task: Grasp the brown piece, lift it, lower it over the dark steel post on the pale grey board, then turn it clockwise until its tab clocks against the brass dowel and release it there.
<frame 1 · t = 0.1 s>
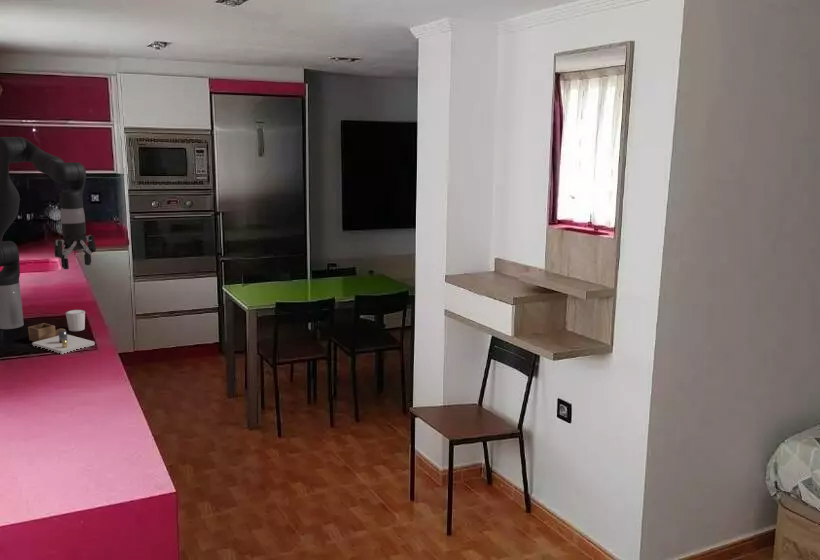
hand: (76, 266, 255), 29 cm above the worktop, fingers open, 8 cm apart
post: (63, 336, 261), on the board, point 3 cm above the worktop
brown piece: (59, 335, 274), on the worktop
board: (63, 345, 262), on the worktop
dowel: (64, 343, 256), on the board, point 2 cm above the worktop
shot glass: (76, 329, 282), on the worktop
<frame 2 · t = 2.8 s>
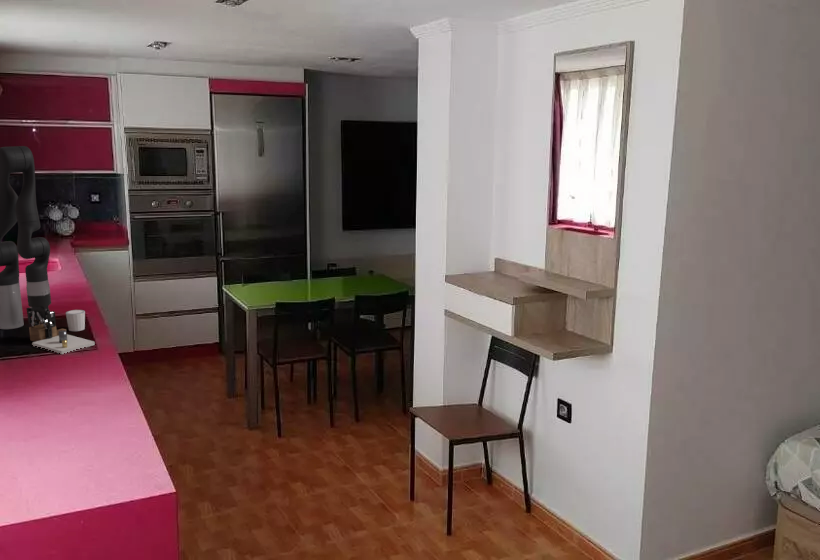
hand: (43, 336, 268), 1 cm above the worktop, fingers closed on brown piece, 6 cm apart
brown piece: (60, 335, 273), on the worktop, touching gripper
everything else where it was.
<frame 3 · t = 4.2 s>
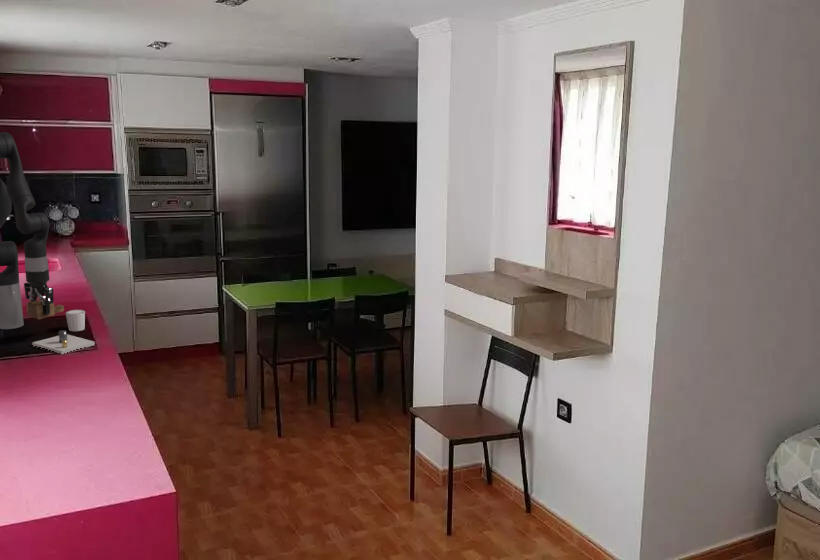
hand: (40, 312, 267), 10 cm above the worktop, fingers closed on brown piece, 6 cm apart
brown piece: (57, 311, 273), point 9 cm above the worktop, touching gripper
everything else where it was.
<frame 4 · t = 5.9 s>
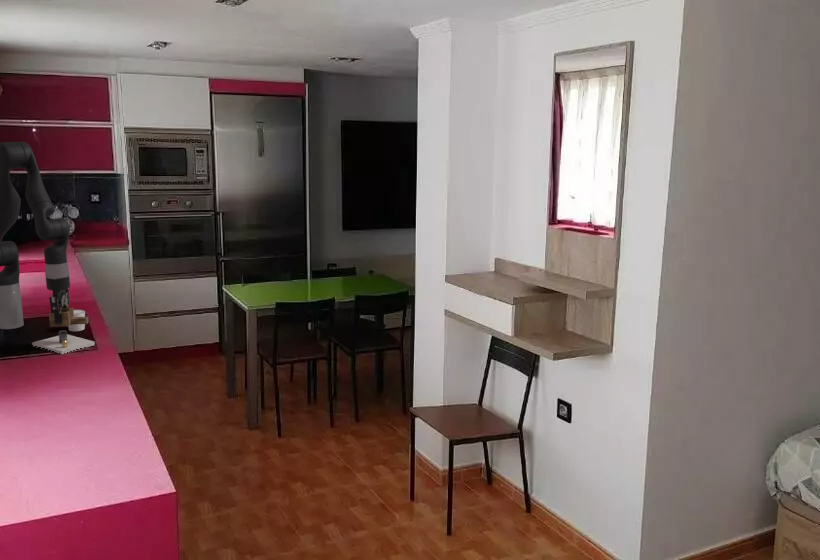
hand: (61, 320, 260), 9 cm above the worktop, fingers closed on brown piece, 6 cm apart
brown piece: (81, 323, 261), point 8 cm above the worktop, touching gripper
everything else where it was.
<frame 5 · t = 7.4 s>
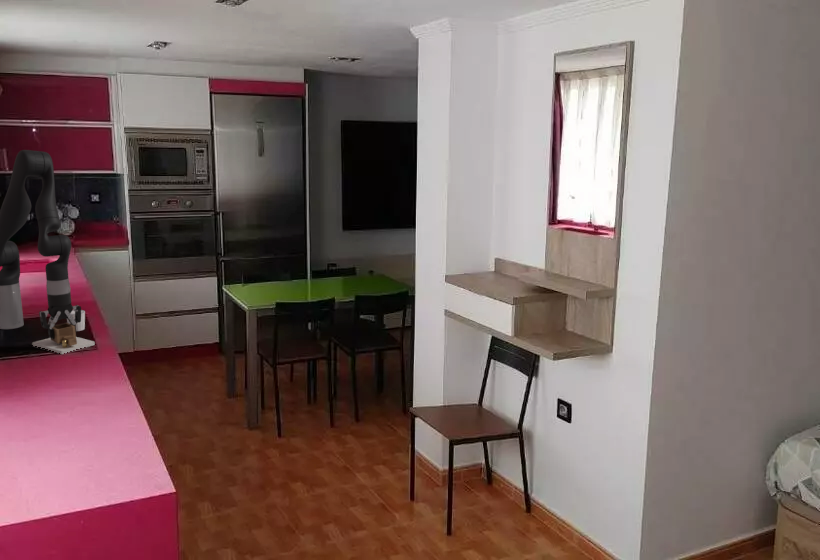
hand: (62, 336, 261), 3 cm above the worktop, fingers closed on brown piece, 6 cm apart
brown piece: (71, 343, 257), point 2 cm above the worktop, touching dowel, gripper
everything else where it was.
when the fingers open (2 cm above the worktop, at t = 8.6 s): brown piece stays where it is, resting on board.
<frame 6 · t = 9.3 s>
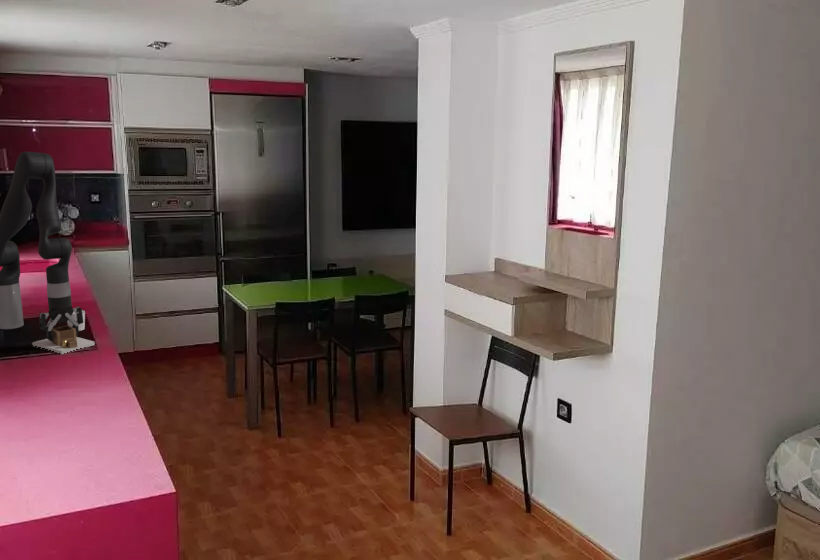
hand: (63, 338, 261), 3 cm above the worktop, fingers open, 8 cm apart
brown piece: (71, 346, 257), point 1 cm above the worktop, touching board
everything else where it was.
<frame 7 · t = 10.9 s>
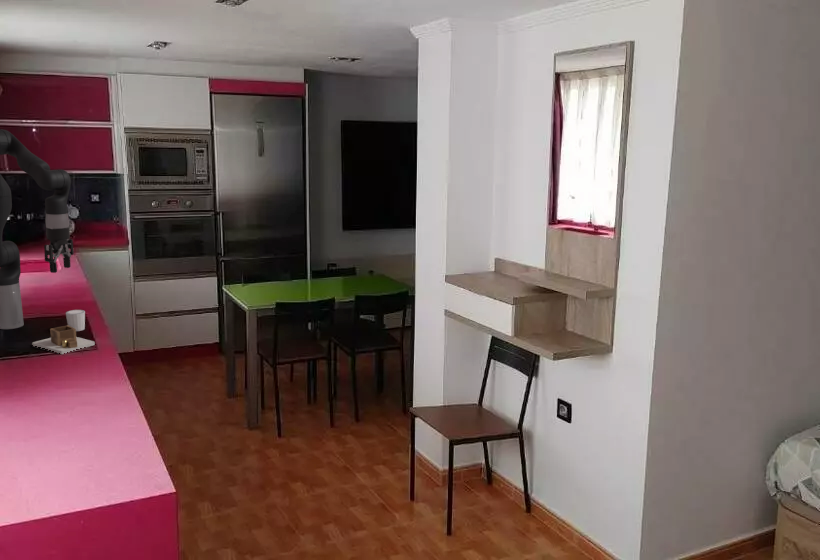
hand: (60, 270, 265), 26 cm above the worktop, fingers open, 8 cm apart
nothing on the worktop moved.
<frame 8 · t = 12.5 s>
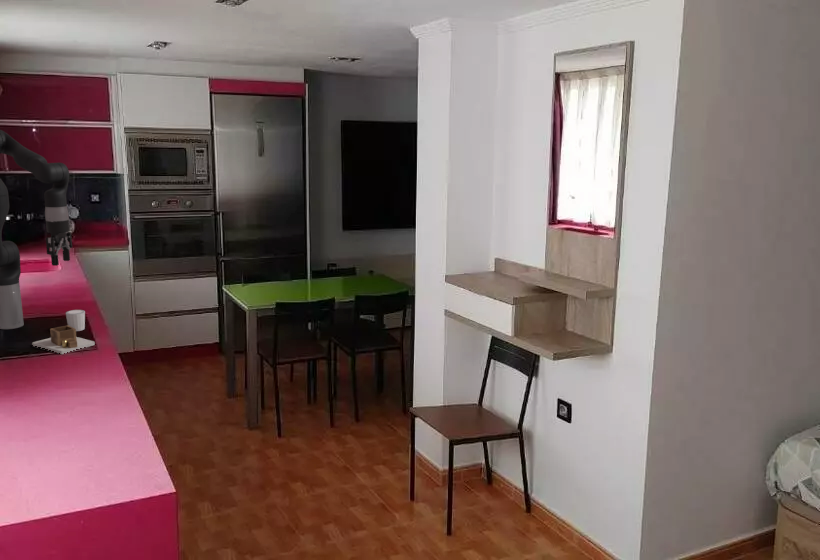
hand: (61, 263, 266), 28 cm above the worktop, fingers open, 8 cm apart
nothing on the worktop moved.
at the end: brown piece 0.6 cm from the target spot on the worktop beside the post, point 1.2 cm above the worktop; brown piece 2.2 cm from the dowel (horizontally); brown piece tilted 0° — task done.
